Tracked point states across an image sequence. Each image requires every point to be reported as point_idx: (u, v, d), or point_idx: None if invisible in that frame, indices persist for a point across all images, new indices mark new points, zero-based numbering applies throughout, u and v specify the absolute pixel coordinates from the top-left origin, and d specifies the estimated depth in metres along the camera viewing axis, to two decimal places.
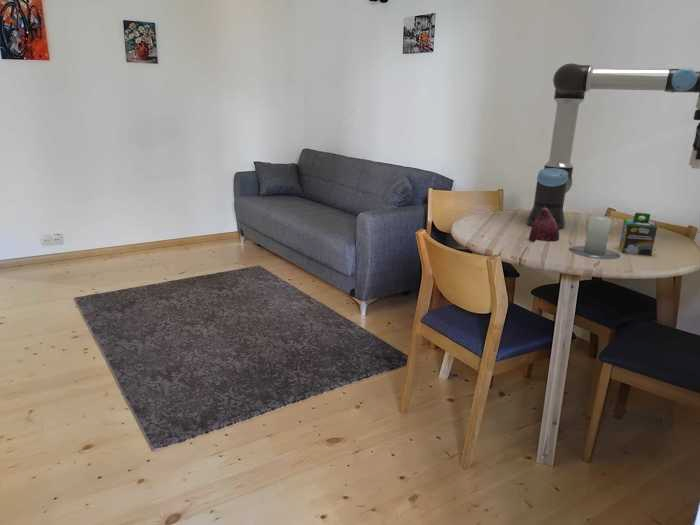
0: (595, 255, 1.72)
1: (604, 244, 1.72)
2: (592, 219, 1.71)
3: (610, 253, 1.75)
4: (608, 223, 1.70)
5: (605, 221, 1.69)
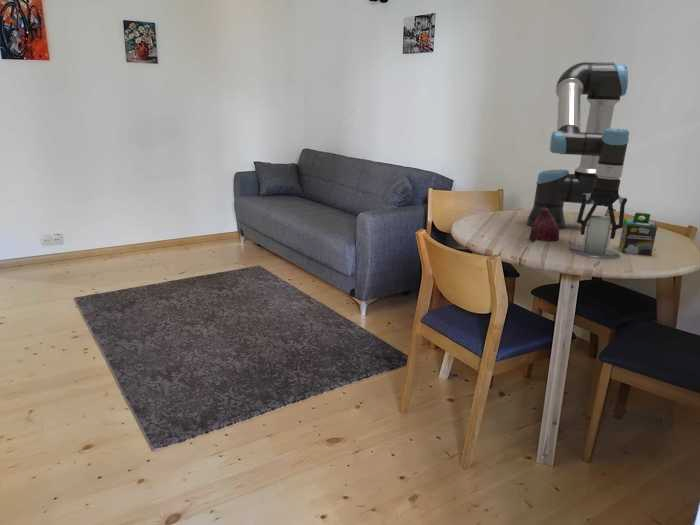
0: (595, 255, 1.72)
1: (604, 244, 1.72)
2: (592, 219, 1.71)
3: (610, 253, 1.75)
4: (608, 223, 1.70)
5: (605, 221, 1.69)
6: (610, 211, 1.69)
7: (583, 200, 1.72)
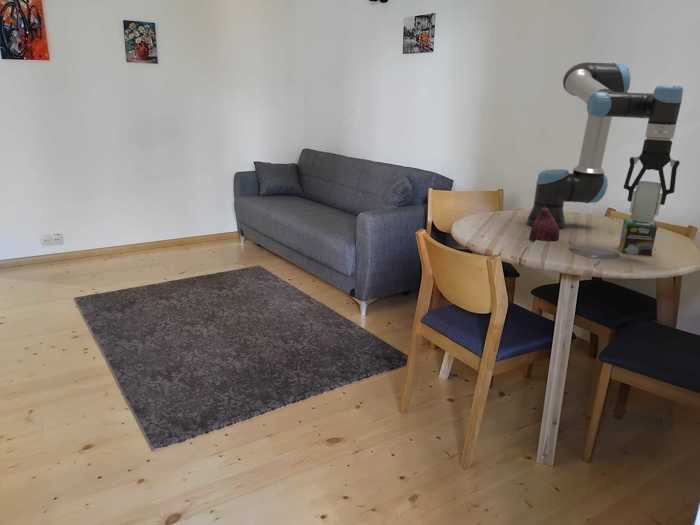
0: (595, 255, 1.72)
1: (654, 210, 1.61)
2: (641, 184, 1.61)
3: (610, 253, 1.75)
4: (658, 188, 1.59)
5: (655, 185, 1.59)
6: (661, 175, 1.59)
7: (631, 164, 1.62)
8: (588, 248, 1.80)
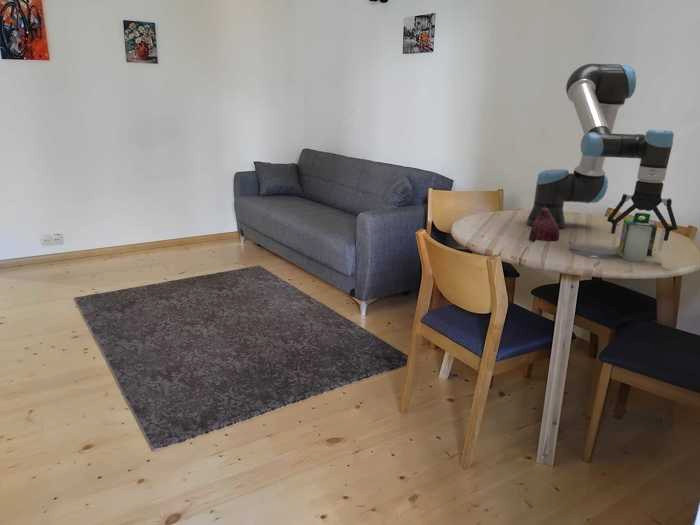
0: (595, 255, 1.72)
1: (644, 254, 1.66)
2: (632, 228, 1.65)
3: (610, 253, 1.75)
4: (649, 233, 1.64)
5: (646, 231, 1.63)
6: (657, 214, 1.62)
7: (622, 200, 1.66)
8: (588, 248, 1.80)
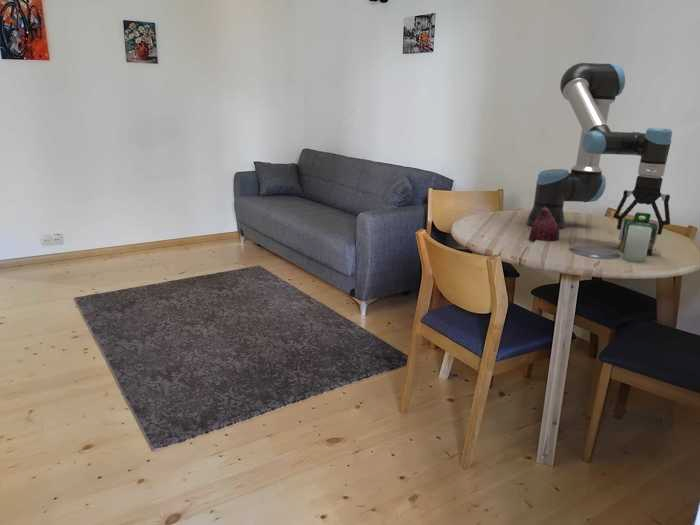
0: (595, 255, 1.72)
1: (644, 254, 1.66)
2: (632, 228, 1.65)
3: (610, 253, 1.75)
4: (649, 233, 1.64)
5: (646, 231, 1.63)
6: (654, 208, 1.72)
7: (624, 196, 1.76)
8: (588, 248, 1.80)
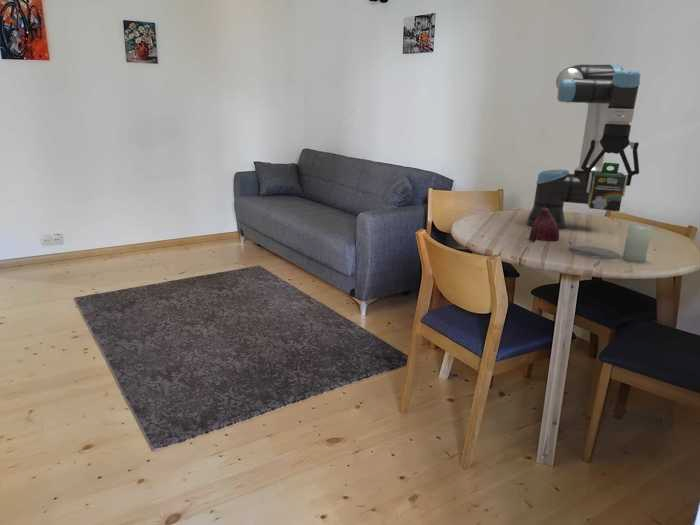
0: (595, 255, 1.72)
1: (644, 254, 1.66)
2: (632, 228, 1.65)
3: (610, 253, 1.75)
4: (649, 233, 1.64)
5: (646, 231, 1.63)
6: (623, 157, 1.64)
7: (591, 146, 1.67)
8: (588, 248, 1.80)
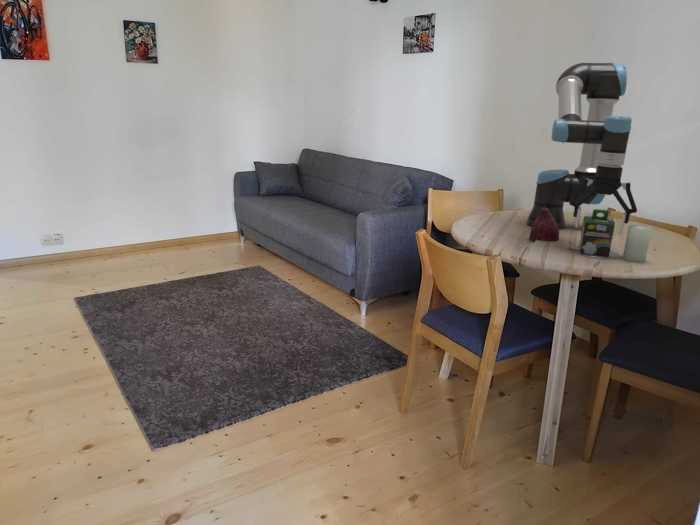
0: (595, 255, 1.72)
1: (644, 254, 1.66)
2: (632, 228, 1.65)
3: (610, 253, 1.75)
4: (649, 233, 1.64)
5: (646, 231, 1.63)
6: (617, 198, 1.67)
7: (584, 185, 1.71)
8: None
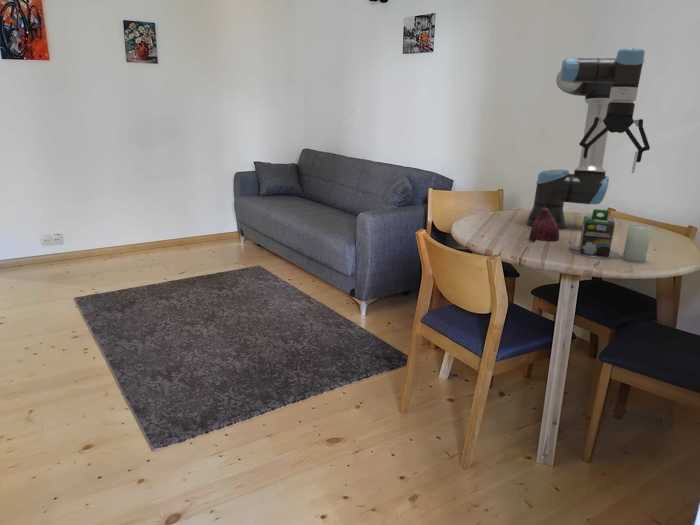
0: (595, 255, 1.72)
1: (644, 254, 1.66)
2: (632, 228, 1.65)
3: (610, 253, 1.75)
4: (649, 233, 1.64)
5: (646, 231, 1.63)
6: (630, 135, 1.61)
7: (594, 123, 1.65)
8: None
